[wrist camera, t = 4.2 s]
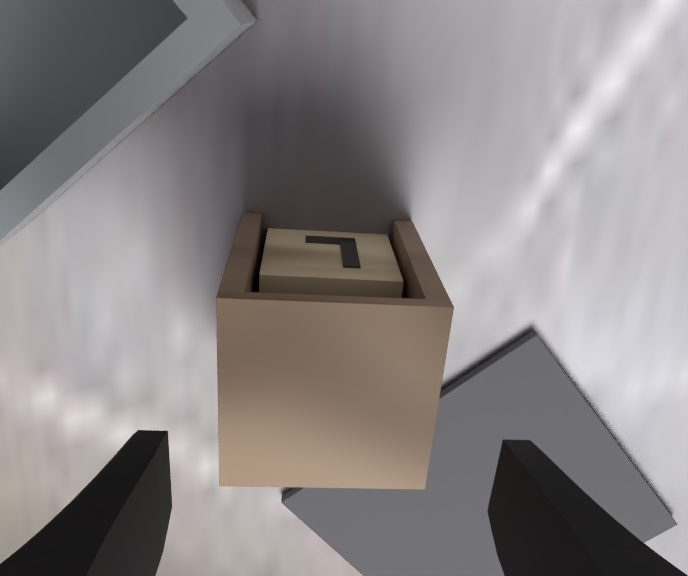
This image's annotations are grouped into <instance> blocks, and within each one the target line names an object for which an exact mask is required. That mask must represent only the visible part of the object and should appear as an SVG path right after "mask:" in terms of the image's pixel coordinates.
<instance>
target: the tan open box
mask: <svg viewBox="0 0 688 576" xmlns="http://www.w3.org/2000/svg"><path fill="white" fill-rule="evenodd" d="M391 247H392V250H393V252H394V255H395V258H396V261H397V264H398V267H399V270H400V273H401V276H402V279H403V290H402V298H383V297H358V296H334V295H309V294H284V293H260V292H259V274H260V263H261V213H242V217H241V220H240V223H239V226H238V230H237V233H236V236H235V239H234V243H233V246H232V249H231V252H230V255H229V259H228V262H227V265H226V268H225V272H224V275H223V278H222V281H221V284H220V288H219V291H218V294H217V297H216V313H217V374H218V434H219V486H246V487H306V488H367V489H425V485H426V479H427V473H428V466H429V460H430V454H431V447H432V441H433V435H434V429H435V422H436V416H437V410H438V403H439V397H440V391H441V385H442V378H443V372H444V366H445V360H446V353H447V347H448V341H449V334H450V328H451V322H452V316H453V309H454V307H453V305H452V303H451V301H450V299H449V297H448V294H447V292H446V290H445V288H444V286H443V284H442V282H441V280H440V278H439V276H438V274H437V272H436V270H435V268H434V265H433V263H432V261H431V259H430V257H429V255H428V253H427V251H426V249H425V247H424V245H423V243H422V241H421V239H420V236H419V234H418V232H417V230H416V228H415V226H414V224H413V222H412V221H401V220H394V227H393V237H392V246H391Z"/></svg>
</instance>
